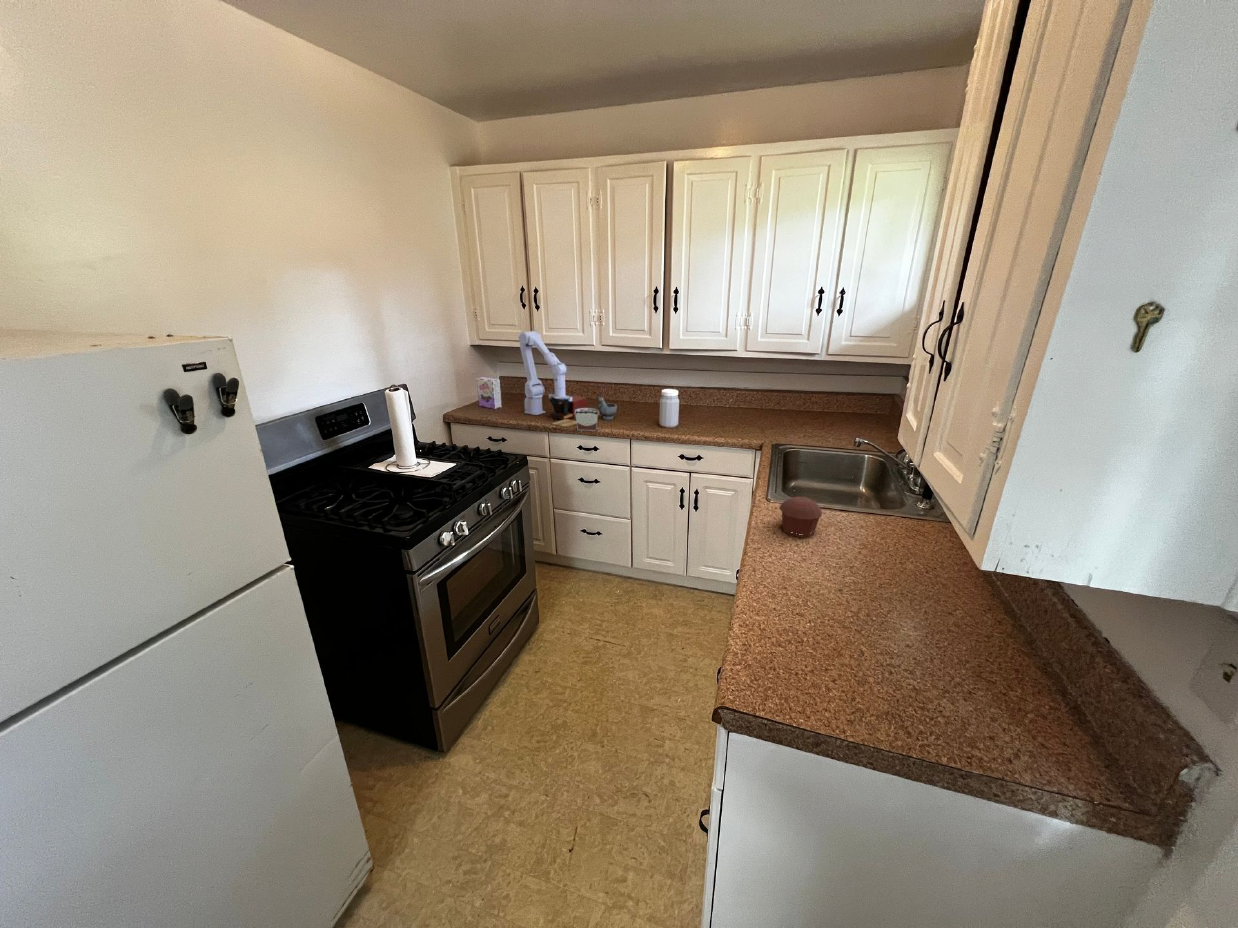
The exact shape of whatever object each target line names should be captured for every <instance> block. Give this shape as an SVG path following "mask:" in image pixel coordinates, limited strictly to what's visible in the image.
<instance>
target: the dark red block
mask: <svg viewBox="0 0 1238 928" xmlns="http://www.w3.org/2000/svg"><path fill="white" fill-rule="evenodd" d="M568 396H569V397H572V401H571V403H570V405H569V408H568V412H570V413H573V416H572V417H569V418H571V419H576V415H575V414H574V412H575V410H576V409H580V408H588V397H586V396H580V395H572V394H570V395H568ZM562 401H564V400H561V399H559V402H562ZM569 418H568V419H569Z"/></svg>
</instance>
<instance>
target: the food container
mask: <svg viewBox="0 0 1238 928" xmlns="http://www.w3.org/2000/svg"><path fill="white" fill-rule="evenodd" d="M574 414H575V415H576V418H575V421H576V422H577V424H576V428H577V429H576V430H577V431H591V432H592V431H593V432H596V431H597V429H598V418H599V415H600V412H599V409H597V408H594V407H587V408H580V409H576V410H575V412H574Z"/></svg>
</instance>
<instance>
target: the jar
mask: <svg viewBox="0 0 1238 928" xmlns="http://www.w3.org/2000/svg"><path fill="white" fill-rule="evenodd" d="M678 395H679V390H678V389H674V388H664V389H662V390H661V397H660V399H659V420H658V421H659V422H658V424H659V425H660V427H662V428H666V429H671V428H676V427H677V426H678V425H679V414H680V412H679V411H680V399H679V396H678Z"/></svg>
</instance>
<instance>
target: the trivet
mask: <svg viewBox="0 0 1238 928" xmlns="http://www.w3.org/2000/svg"><path fill="white" fill-rule="evenodd" d="M551 425H554V426H558V427H559V426H560V427H564V428H570V427H572V426H575V425H577V422H576V420H574V419H573V420H572V419H569V418H566V419H559V420H557V421H555V422H552V423H551Z"/></svg>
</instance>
